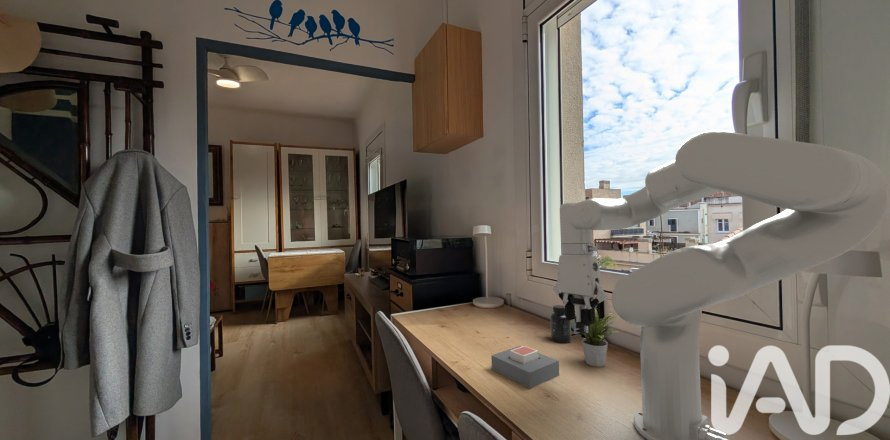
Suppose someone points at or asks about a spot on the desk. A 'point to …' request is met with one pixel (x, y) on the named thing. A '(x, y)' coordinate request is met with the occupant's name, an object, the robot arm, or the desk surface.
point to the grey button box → (526, 368)
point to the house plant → (596, 341)
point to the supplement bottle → (560, 325)
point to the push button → (579, 314)
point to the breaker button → (524, 355)
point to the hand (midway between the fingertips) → (579, 321)
